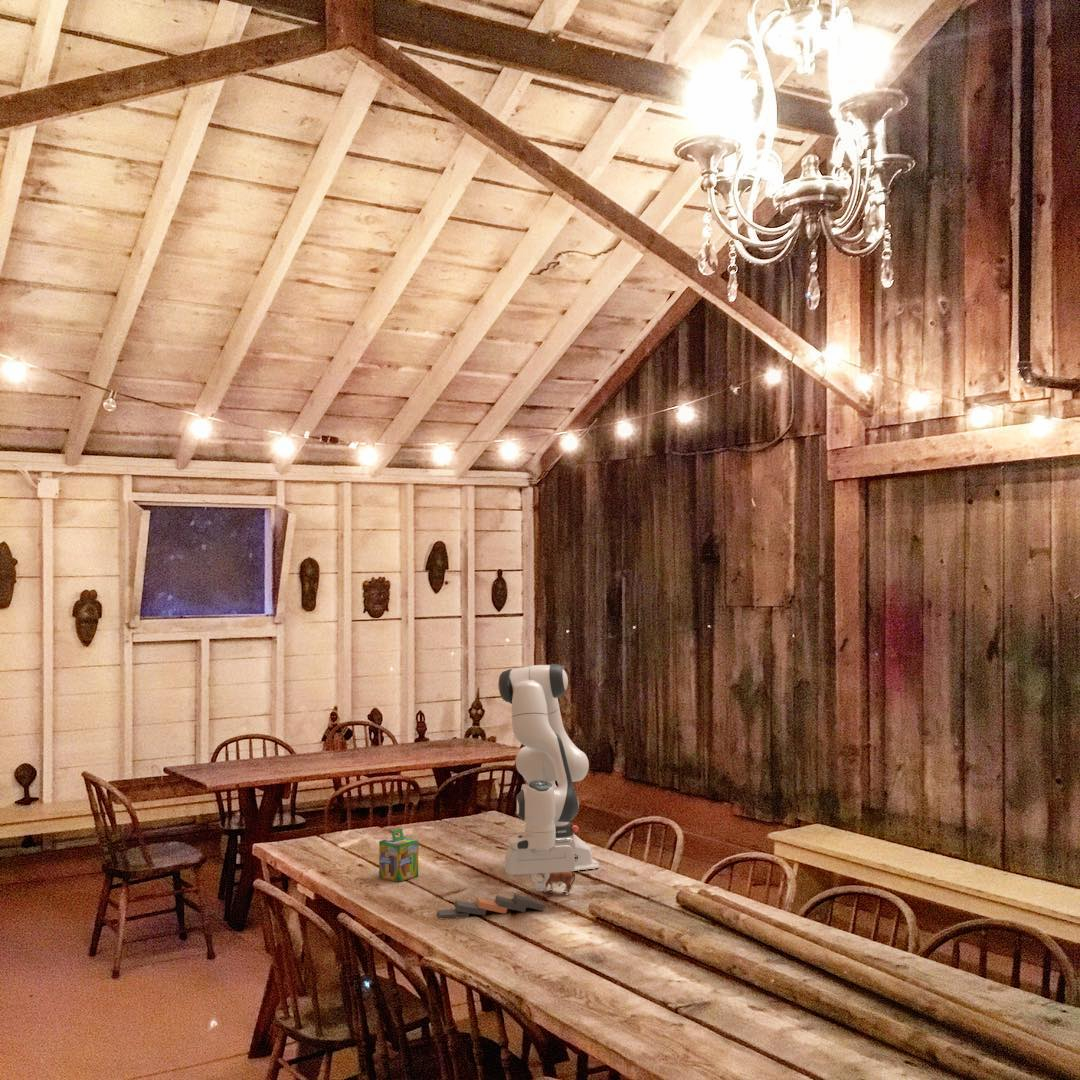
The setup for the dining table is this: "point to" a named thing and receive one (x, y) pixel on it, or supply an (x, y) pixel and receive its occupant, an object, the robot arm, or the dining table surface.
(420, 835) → the dining table surface
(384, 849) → the chalk box
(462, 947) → the dining table surface
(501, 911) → the domino
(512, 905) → the domino
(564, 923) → the dining table surface
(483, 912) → the domino
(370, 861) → the dining table surface
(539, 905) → the domino
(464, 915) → the domino
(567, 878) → the bull figurine
